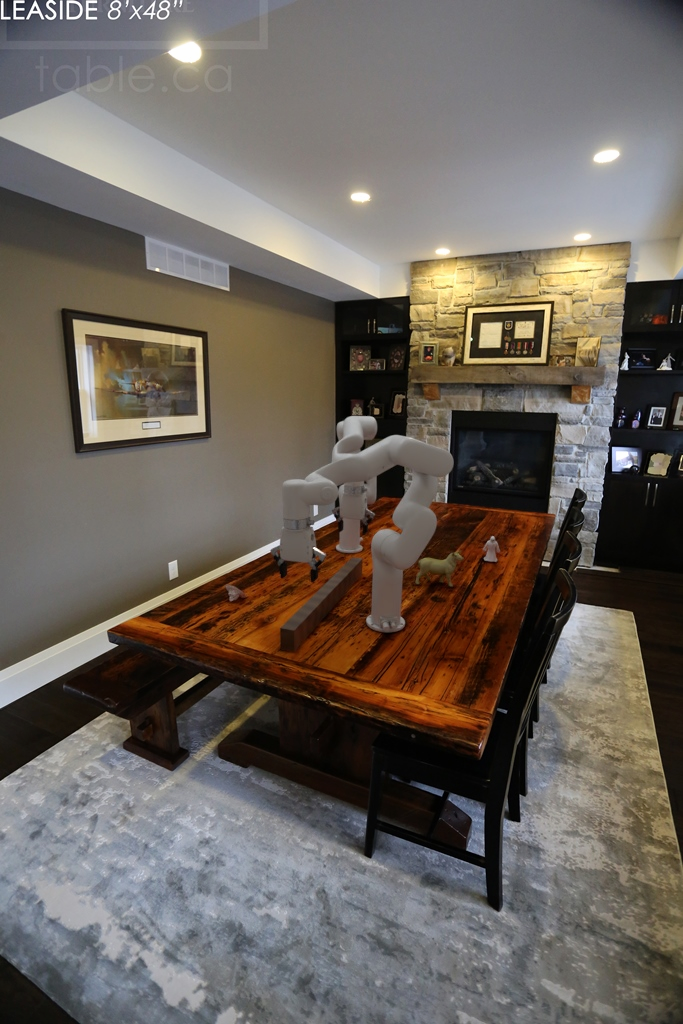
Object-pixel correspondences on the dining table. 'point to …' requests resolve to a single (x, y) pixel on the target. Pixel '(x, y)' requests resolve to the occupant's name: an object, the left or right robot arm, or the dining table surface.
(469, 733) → the dining table surface
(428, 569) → the toy
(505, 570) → the dining table surface
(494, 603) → the dining table surface
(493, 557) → the figurine
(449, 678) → the dining table surface
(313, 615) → the beam
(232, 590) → the seashell
